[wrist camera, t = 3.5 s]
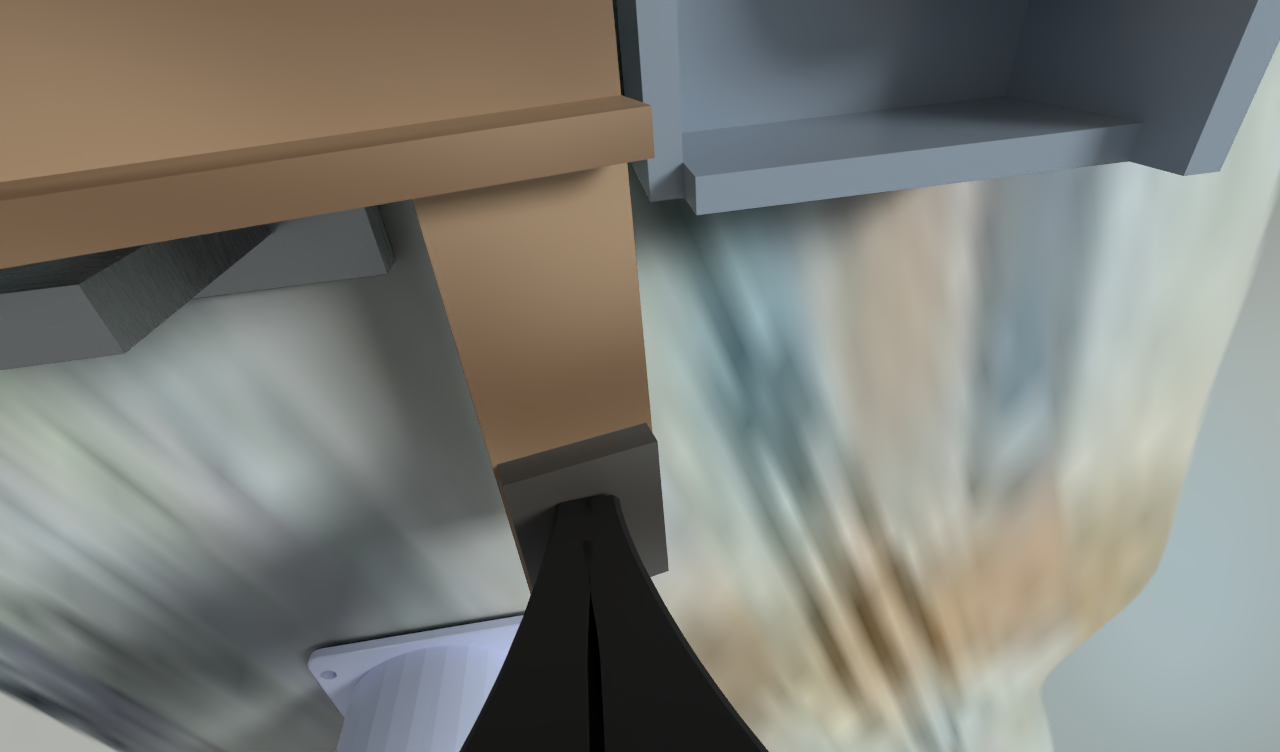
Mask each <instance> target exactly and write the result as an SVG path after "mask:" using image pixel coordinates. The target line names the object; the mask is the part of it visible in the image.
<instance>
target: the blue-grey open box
mask: <svg viewBox="0 0 1280 752" xmlns="http://www.w3.org/2000/svg"><path fill="white" fill-rule="evenodd" d="M616 4H617V15H618V26H619V37H620V48H621V60H622V71H623V82H624V93H625V96H626V97H629V98H631V99H634V100H637V101H640V102H643V103H646V104H649V105H651V108H652V123H653V138H654V153H655V158H652V159H646V160H640V161H634V162H631V164H632V166H633V168H634V170H635V172H636V174H637V176H638V178H639V180H640V182H641V184H642V186H643V188H644V190H645V192H646V194H647V196H648V198H649V200H650V202H655V201H663V200H671V199H679V198H685V199H686V201H687V202H688V204H689V205H690V206H691V208H692V209H693V211H694V212H695V214H696V215H703V214H711V213H719V212H727V211H735V210H743V209H751V208H759V207H767V206H775V205H783V204H791V203H799V202H807V201H815V200H823V199H831V198H839V197H847V196H855V195H863V194H871V193H879V192H887V191H895V190H903V189H911V188H919V187H927V186H935V185H943V184H951V183H959V182H967V181H975V180H983V179H991V178H999V177H1007V176H1015V175H1023V174H1031V173H1039V172H1047V171H1055V170H1063V169H1071V168H1079V167H1087V166H1095V165H1103V164H1111V163H1119V162H1127V161H1130V162H1134V163H1138V164H1141V165H1145V166H1149V167H1152V168H1156V169H1160V170H1164V171H1167V172H1171V173H1175V174H1178V175H1182V176H1187V175H1195V174H1202V173H1210V172H1218V171H1220V170H1221V168H1222V165H1223V163H1224V161H1225V159H1226V157H1227V154H1228V152H1229V150H1230V148H1231V146H1232V143H1233V141H1234V139H1235V137H1236V135H1237V132H1238V130H1239V128H1240V126H1241V124H1242V122H1243V119H1244V117H1245V115H1246V113H1247V111H1248V108H1249V106H1250V104H1251V102H1252V100H1253V97H1254V95H1255V93H1256V91H1257V89H1258V86H1259V84H1260V82H1261V80H1262V78H1263V76H1264V73H1265V71H1266V69H1267V67H1268V65H1269V62H1270V60H1271V58H1272V56H1273V54H1274V51H1275V49H1276V47H1277V45H1278V43H1279V40H1280V0H616Z"/></svg>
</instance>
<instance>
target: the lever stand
mask: <svg viewBox="0 0 1280 752" xmlns="http://www.w3.org/2000/svg"><path fill="white" fill-rule="evenodd" d="M395 260H396V259H395V257H394V254H393V251H392V248H391V245H390V242H389V239H388V236H387V233H386V230H385V227H384V224H383V221H382V218H381V215H380V212H379V209H378V206H377V205H375V206H369V207H363V208H357V209H351V210H345V211H339V212H333V213H328V214H322V215H316V216H310V217H304V218H298V219H292V220H286V221H280V222H274V223H269V224H263V225H257V226H251V227H245V228H239V229H233V230H227V231H221V232H215V233H210V234H204V235H198V236H192V237H186V238H180V239H174V240H168V241H162V242H156V243H151V244H145V245H139V246H133V247H127V248H121V249H115V250H109V251H103V252H97V253H92V254H86V255H80V256H74V257H68V258H62V259H56V260H50V261H44V262H38V263H33V264H27V265H21V266H15V267H9V268H3V269H0V370H4V369H11V368H19V367H26V366H34V365H42V364H49V363H57V362H64V361H72V360H79V359H87V358H95V357H102V356H110V355H117V354H125V353H126V352H127V351H128V350H129V349H131V348H132V347H133V346H134V345H136V344H137V343H138V342H139V341H140V340H142V339H143V338H144V337H145V336H147V335H148V334H149V333H150V332H152V331H153V330H154V329H155V328H156V327H158V326H159V325H160V324H161V323H163V322H164V321H165V320H166V319H167V318H169V317H170V316H171V315H172V314H174V313H175V312H176V311H177V310H179V309H180V308H181V307H182V306H183V305H185V304H186V303H187V302H188V301H190V300H191V299H194V298H201V297H209V296H217V295H225V294H233V293H241V292H249V291H256V290H264V289H272V288H280V287H288V286H296V285H304V284H312V283H319V282H327V281H335V280H343V279H351V278H359V277H367V276H375V275H382V274H388V272H389V270H390V269H391V267H392V265H393V264H394V262H395Z"/></svg>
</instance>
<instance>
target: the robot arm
mask: <svg viewBox="0 0 1280 752" xmlns="http://www.w3.org/2000/svg"><path fill="white" fill-rule="evenodd" d="M307 666H308V668H309V670H310V671H311V673H312V674H313V675H314V677H315V678H316V680H317V681H318V682H319V684H320V685H321V686H322V688H323V689H324V691H325V692H326V693H327V695H328V696H329V698H330V699H331V700H332V702H333V703H334V705H335V706H336V707H337V709H338V710H339V711H340V713H341V714H342V716H343V717H344V718H345V720H344V723H343V727H342V730H341V734H340V737H339V741H338V744H337V747H336V751H335V752H769V751H768V750H767V749H766V748H765V747H764V745H763V744H762V743H761V742H760V740H759V739H758V738H757V737H756V735H755V734H754V733H753V732H752V730H751V729H750V728H749V727H748V726H747V724H746V723H745V722H744V721H743V719H742V718H741V717H740V716H739V714H738V713H737V712H736V710H735V709H734V708H733V706H732V705H731V703H730V702H729V701H728V699H727V698H726V697H725V695H724V694H723V693H722V691H721V690H720V689H719V687H718V686H717V684H716V683H715V682H714V680H713V679H712V677H711V676H710V674H709V673H708V672H707V670H706V669H705V667H704V666H703V664H702V663H701V662H700V660H699V659H698V657H697V656H696V654H695V653H694V651H693V650H692V648H691V646H690V645H689V643H688V642H687V640H686V639H685V637H684V636H683V634H682V632H681V631H680V629H679V627H678V626H677V624H676V622H675V621H674V619H673V617H672V616H671V614H670V613H669V611H668V609H667V607H666V606H665V604H664V602H663V600H662V599H661V597H660V595H659V593H658V591H657V589H656V587H655V586H654V584H653V582H652V580H651V578H650V576H649V574H648V572H647V570H646V568H645V566H644V564H643V562H642V560H641V558H640V556H639V554H638V552H637V549H636V547H635V545H634V542H633V540H632V538H631V535H630V533H629V530H628V527H627V525H626V522H625V519H624V516H623V512H622V509H621V504H620V499H619V498H618V497H616V496H614V495H608V496H601V497H595V498H588V499H582V500H575V501H569V502H562V503H560V504H559V505H558V506H557V507H556V508H555V512H554V518H553V523H552V527H551V532H550V536H549V540H548V543H547V547H546V551H545V554H544V557H543V561H542V564H541V567H540V570H539V573H538V576H537V579H536V582H535V585H534V588H533V590H532V593H531V596H530V599H529V602H528V605H527V607H526V610H525V613H524V615H520V616H514V617H508V618H502V619H496V620H490V621H484V622H478V623H472V624H466V625H460V626H454V627H448V628H442V629H436V630H430V631H424V632H418V633H412V634H406V635H400V636H394V637H388V638H382V639H376V640H370V641H364V642H358V643H352V644H345V645H339V646H333V647H327V648H322V649H318V650H315V651H314V652H313V653H312V654H311V656H310V659H309V661H308V664H307Z"/></svg>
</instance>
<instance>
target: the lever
mask: <svg viewBox="0 0 1280 752" xmlns="http://www.w3.org/2000/svg"><path fill="white" fill-rule="evenodd" d="M652 158H655V153H654V138H653V123H652V108H651V105H649V104H646V103H643V102H640V101H637V100H634V99H631V98H629V97H626V96H623V95H621V88H620V78H619V67H618V56H617V45H616V34H615V23H614V13H613V2H612V0H0V269H3V268H9V267H15V266H21V265H27V264H33V263H38V262H44V261H50V260H56V259H62V258H68V257H74V256H80V255H86V254H92V253H97V252H103V251H109V250H115V249H121V248H127V247H133V246H139V245H145V244H151V243H156V242H162V241H168V240H174V239H180V238H186V237H192V236H198V235H204V234H210V233H215V232H221V231H227V230H233V229H239V228H245V227H251V226H257V225H263V224H269V223H274V222H280V221H286V220H292V219H298V218H304V217H310V216H316V215H322V214H328V213H333V212H339V211H345V210H351V209H357V208H363V207H369V206H375V205H381V204H386V203H392V202H398V201H404V200H410V199H412V201H413V204H414V207H415V211H416V214H417V217H418V221H419V224H420V227H421V231H422V234H423V237H424V241H425V244H426V247H427V251H428V254H429V257H430V261H431V264H432V267H433V271H434V274H435V277H436V281H437V284H438V287H439V291H440V294H441V297H442V301H443V304H444V307H445V310H446V314H447V317H448V320H449V324H450V327H451V330H452V334H453V337H454V340H455V344H456V347H457V350H458V354H459V357H460V360H461V364H462V367H463V370H464V374H465V377H466V380H467V384H468V387H469V390H470V394H471V397H472V400H473V404H474V407H475V410H476V414H477V417H478V420H479V424H480V427H481V430H482V434H483V437H484V440H485V444H486V447H487V450H488V454H489V457H490V460H491V464H492V467H493V470H494V474H495V477H496V480H497V484H498V487H499V490H500V494H501V497H502V500H503V504H504V507H505V510H506V514H507V517H508V520H509V524H510V527H511V530H512V534H513V537H514V540H515V544H516V547H517V550H518V554H519V557H520V560H521V564H522V567H523V570H524V574H525V577H526V580H527V584H528V587H529V590H530V594H531V593H532V590H533V588H534V585H535V582H536V579H537V576H538V573H539V570H540V567H541V564H542V561H543V557H544V554H545V551H546V547H547V543H548V540H549V536H550V532H551V527H552V523H553V518H554V512H555V508H556V507H557V506H558V505H559V504H560V503H562V502H569V501H575V500H582V499H588V498H595V497H601V496H608V495H614V496H616V497H618V498H619V499H620V504H621V509H622V512H623V516H624V519H625V522H626V525H627V527H628V530H629V533H630V535H631V538H632V540H633V542H634V545H635V547H636V549H637V552H638V554H639V556H640V558H641V560H642V562H643V564H644V566H645V568H646V570H647V572H648V574H649V576H650V577H652V576H655V575H657V574H660V573H663V572H666V571H669V570H668V558H667V547H666V535H665V524H664V512H663V501H662V489H661V478H660V466H659V455H658V443H657V440H656V438H655V436H654V435H653V433H652V425H651V414H650V403H649V392H648V381H647V370H646V360H645V349H644V338H643V327H642V316H641V305H640V294H639V284H638V273H637V262H636V251H635V240H634V229H633V219H632V208H631V197H630V186H629V175H628V164H627V163H628V162H634V161H640V160H646V159H652Z"/></svg>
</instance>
